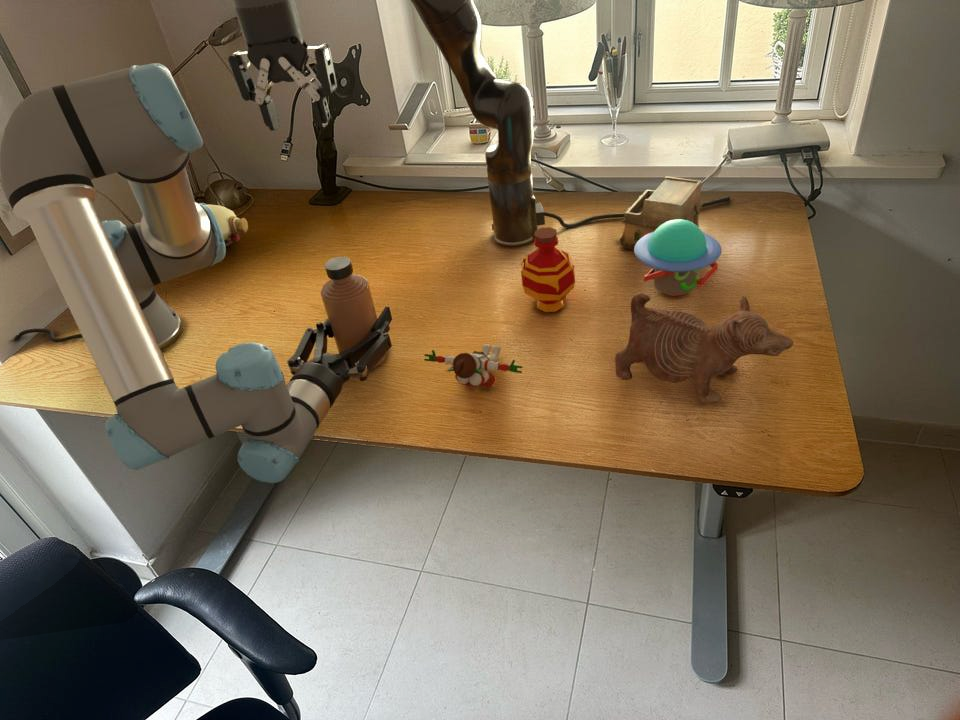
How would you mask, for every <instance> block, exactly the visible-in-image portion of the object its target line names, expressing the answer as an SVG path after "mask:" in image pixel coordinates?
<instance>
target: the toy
mask: <svg viewBox="0 0 960 720" xmlns="http://www.w3.org/2000/svg"><path fill="white" fill-rule="evenodd" d="M491 348H492V353H491V354H490V352H491ZM501 349H502V346H499V345H493V346H492V345H490V344H488V343H486V344H483V345H482V351H481V350H473V352H471V353H469V352H462V353H459V354H457V355H456V356H452V355H451V356H449V355H446V356H442V355H437V354H436V351H435V350H434V349H431V352H432V354H428V353H425V354H424V357H428V358H424V359H423V361H425V362H431V363H436V362H437V363H439V364H444V363H445V365H446V366H448V365H449V366H450V367H449V368H447V369H445V370H444V372H447V373H448V372H449V373H450V372H454V374H455V377H454V378H455V380H456V381H457V383H459V384H460V385H462V386H465V387H469V388H470V387H473V388H474V387H475V388H476V387H480V386H482V387H483V389H488V388H492V387H493V386H494V385H495V382H496V375H494V374H492V373H489V372H488V371H491V372H492V371H493V372H494V371H496V372H499V371H503V372H510V373H517V374H522V373H523V371H522V370H518V369H523V366H522V365H516V364H515V362H516V360H515V359H513V360H512V361H511V362H510V364H507V363H500V352H501Z"/></svg>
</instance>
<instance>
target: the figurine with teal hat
mask: <svg viewBox="0 0 960 720" xmlns="http://www.w3.org/2000/svg"><path fill="white" fill-rule="evenodd" d="M722 250H723V249H722V246H721V244H720V243H719V241H718V240H717V239H716V238H715V237H713V236H712V235H710V234H708V233H705V232H703V230H702V229H701V228H700V226H699V227H698V226H697V225H696V224H694V223H692V222H690V221H688V220H682V219H675V220H670V221H667V222H665V223H664V224H662V225H660V226H659V227H658V228H657V229H656V230H655V231H654V232H651V233H649V234H647V235H645V236H643V237H642V238H641V239H640V240H638V242H637V243H636V245H635V247H634V250H633V252H634V256H635V257H636V258H637V259H638V261H640V262H641V263H642V264H644V265H645V266H647V267H650V268H651V269H650V270H649V271H648V272H647V273H646V274H645V275H644V276H643V282H644V283H645V282H648V281H651V280H653V287H654V289H656V291H658V292H659V293H662V294H666V295H668V296H671V297H678V296H682V295H685V294H689V293H691V292H693V291H694V290H695V289H696V287H697V286H699V287H703V286H704V285H705V283H706V282H708V280H709V279H710V278H711V277H712V276H713V275H714V274H715V272H717V270H718V266H719V264H718V262H717V260H718V259H719V258H720V257H721V255H722ZM707 267H711V268H710V270H709V271H707V272H706V274H705V275H704V276H703V277H700V278H699V277H698V273H699V272H701V271H703V269H704V268H707Z"/></svg>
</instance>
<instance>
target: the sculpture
mask: <svg viewBox="0 0 960 720" xmlns="http://www.w3.org/2000/svg"><path fill="white" fill-rule="evenodd" d="M651 300H652V298H651V296H650V295H649V294H647V293H645V292H637V293H635V294H633V296H632V298H631V299H630V314H631V320H630V321H631V323H630V327H629V337H628V341H627V344H626V346H625V348H623V349H621V350H619V351H617V352H616V353H615V356H614V365H615V374H616V377H617V378H618V379H621V380H624V381H627V380H631V379H632V378H633V374H632V370H631V367H632V365H633V364H637V363H643V364H644V365H645V366H644V367H646V369H647V371H648V372H649V373H650V375H651V376H653V377H654V378H655V379H658V380H659V381H662V382H665V383H669V384H678V383H683V382H686V381H688V380H690V379H691V380H692V383H693V388H694V391H695V394H696V396H697V399H698V400H699V401H701V402H703V403H706V404H717V403H720V402H721V401H723V395H722V394H721V393H719V392H717V391H715V390H713V389H712V388H711V383H712V378H713V377H715V376H719V375H725V376H731V375H732V376H733V375H734V374H736V373H738V367H737V366H736V365H734V364H735V363H736V361H737V360H738V359H740V358H742V357H745V356H749V355H760V356H761V355H762V356H767V357H768V356H769V357H778V356H780V355H781V354H782V353H783V352H785V351H787V350H789V349H791V348H792V347H793V345H794V341H793V340H792V338H790V337H789V336H788V335H785V334H784V333H781V332H779V331H776V330H774V329H773V328H771V326H769V324H768V322H767V321H766V319H765V318H764V317H762V316H761V315H760V314H758V313H757V312H755V311H751V307H750V303H749V300H748V299H747V296H745V295H743V296H740V301H739V302H740V303H739V309H738V311H737V312H735V313H732V314H730V315H729V316H728V317H726V318H725V319H723V320H722V321H720V322H719V323H718V324H716V325H714V326H709V325H708V324H707V323H706V322H705V321H704V320H703V319H702V318H700V317H698V316H697V315H695V314H692V313H690V312H689V311H688V312H687V311H684V310H668V309H663V308H656V307H646V306H645V305H646V303H648V302H649V301H651Z"/></svg>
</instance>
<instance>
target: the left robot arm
mask: <svg viewBox="0 0 960 720" xmlns="http://www.w3.org/2000/svg"><path fill="white" fill-rule="evenodd" d="M203 145H204V140H203V138H202V135H201V133H200V131H199V129H198V126H197V125H196V122H195V120H194V119H193V116H192V113H190V110H189V108H188V106H187V104H186V102H185V100H184V98H183V96H182V94H181V92H180V89H179V87H178V86H177V83H176V81H175V79H174V77H173V75H172V73H171V72H170V70H169V69H168V68H167V67H166V66H165V65H164V64H161V63H158V62H157V63H156V62H154V63H148V64H142V65H137V64H133V65H130V66H129V67H127V68H123V69H118V70H114V71H111V72H107V73H103V74H99V75H95V76H91V77H88V78H83V79H80V80H75V81H72V82H67V83H64V84H60V85H56V86H48V87H44V88H41V89H38V90H37V91H34V92H33V93H31V94H29V95H28V96H26V97H25V98H24V99H23V100H22V101H20V102H19V104H18V105H17V106H16V108H14V110H13V111H12V113H11V114H10V117H9V119H8V121H7V123H6V125H5V127H4V131H3V135H2V139H1V144H0V179H1V185H2V187H3V191H4V194H5V197H6V199H7V201H8V203H9V205H10V207H11V208H12V211H13V214H14V215H15V217H16V218H18V219H20V220H23V221H25V222H27V223H28V224H29V226H30V228H31V230H32V232H33V234H34V237H35V239H36V241H37V243H38V245H39V247H40V250H41V251H42V254H43V256H44V258H45V260H46V262H47V264H48V266H49V268H50V271H51V274H52V276H53V277H54V279H55V281H56V284H57V286H58V287H59V290H60V292H61V294H62V296H63V298H64V300H65V303H66V305H67V307H68V309H69V311H70V313H71V315H72V317H73V319H74V322H75V324H76V326H77V328H78V331H79V332H80V333H77V334H72V335H68V336H64V337H59V338H56V337H55V333H54V331H53V330H52V329H50V328H29V329H25V330H22V331H20V332H19V333H18V334H19V335H17V334H16V335H15V337H14V341H18V340H20V339H21V338H22V337H23V336H25V335H28V334H33V333H43V334H49V339H50V341H51V342H53V343H64V342H68V341H71V340H76V339H83V341H84V343H85V346H86V347H87V349H88V351H89V354H90V356H91V358H92V360H93V362H94V364H95V366H96V368H97V371H98V373H99V375H100V377H101V379H102V381H103V384H104V385H105V387H106V390H107V392H108V394H109V396H110V398H111V400H112V402H113V404H114V407H115V408H116V409H115V410H116V413H115V414H114V415H113V416H110V417H108V418H107V419H106V420H105V422H104V428H105V433H106V435H107V436H108V440H109V443H110V445H111V447H112V449H113V451H114V453H115V455H116V456H117V458H118V459H119V461H120V462H121V464H122V465H123V466H124V467H126V468H127V469H130V470H134V471H137V470H140V469H144V468H145V467H148V466H150V465H153V464H156V463H159V462H161V461H165V460H169V459H170V457H172V456H175V455H176V454H179V453H181V452H183V451H185V450H188V449H190V448H192V447H195V446H197V445H199V444H201V443H203V442H206V441H208V440H209V439H213V438H216V437H218V436H220V435H222V434H225V433H227V432H230V431H231V430H234V429H236V428H239V427H241V428H242V430H243V432H244V435H245V437H246V438H245V440H244V441H243V442H242V443H241V447H240V448H239V449H238V452H237V463H238V465H239V467H240V468H241V470H242V471H244V473H245V474H246V475H248V476H249V477H250V478H252V479H254V480H256V481H258V482H262V483H267V484H268V483H269V484H276V483H280V482H282V481H284V480H285V479H286V478H287V477H288V475H289V474H290V472H291V471H292V470H293V469H294V467H295V466H296V465H297V464H298V463H299V460H300V458H301V457H302V455H303V453H304V452H305V450H306V448H307V447H308V445H309V444H310V442H311V440H312V438H313V437H314V435H315V434H316V432H317V430H318V429H319V428H320V425H321V424H322V423H323V421H324V420H325V417H326V416H327V415H328V412H329V411H330V409H331V408H332V407H333V406H334V404H335V402H336V401H337V399H338V397H339V396H340V394H341V391H342V389H343V385H344V384H345V383H346V382H348V381H349V380H350V379H351V378H359V381H360V382H365V381H367V380H368V377H369V375H370V372H371V371H372V370H373V369H374V368H373V367H374V366H375V365H376V364H377V363H378V362H379V361H380V359H381V358H382V357H383V356H384V355H385V354H386V355H387V353H388V352H389V350H390V349H391V348H392V347H393V344H392V341H391V336H390V333H389V332H390V330H391V327H390V324H391V323H392V321H393V316H392V312H391V308H390V306H384V308H383V310H382V311H381V313H380V314H379V316H377V320H376V322H375V323H374V325H373V327H372V328H371V329H372V333H371V334H370V335H368V336H367V337H365V338H364V339H363V340H361V341H360V342H358V343H357V344H356V345H354V346H353V347H352V348H350V349H349V350H347V349H345V350H343V351H342V352H340V353H339V352H338V353H330V352H328V338H329V339H333V338H334V336H333V332H332V329H331V326H330V323H329V319H328V317H327V318H326V319H324V322H321V321H319V322H317V323H315V327H316V328H313V327H307V328H306V329H305V331H304V333H303V335H302V338H301V339H300V341H299V343H298V345H297V348H296V349H295V352H294V353H293V355H292V356H290V358H289V359H288V360H287V361H286V363H287V366H288V369H289V371H290V374H291V375H292V377H291V378H290V379H289V381H288V382H286V380H285V375H284V373H283V371H282V369H281V367H280V365H279V363H278V360H277V358H276V356H275V354H274V352H273V350H272V349H271V348H270V347H268V346H267V345H265V344H263V343H260V342H253V341H251V342H242V343H238V344H236V345H234V346H231V347H229V349H228V351H227V352H223V353H221V354H220V355H219V356H218V358H217V360H216V363H215V371H216V372H215V374H213V375H210V376H209V377H206V378H204V379H203V378H202V379H201V380H198V381H196V382H193V383H191V384H188V385H186V386H183V387H181V388H179V387H178V385H177V384H176V381H175V378H174V376H173V374H172V371H171V370H170V368H169V365H168V363H167V361H166V359H165V357H164V354H163V351H165V350H166V349H167V348H169V347H170V346H172V345H173V344H174V343H175V342H176V341H177V340H178V339H179V337H180V336H181V335H182V332H183V329H184V325H183V322H182V320H181V319H180V316H179V314H178V313H177V312H176V311H175V310H173V308H172V307H170V305H169V304H168V303H166V301H165V300H164V299H162V298H161V297H160V295H158V293H157V291H156V289H155V287H154V286H157V285H159V284H162V283H165V282H169V281H172V280H174V279H177V278H179V277H183V276H185V275H186V276H187V275H188V274H191V273H194V272H197V271H200V270H203V269H208V268H211V267H212V266H214V265H215V264H219V263H221V262H222V261H223V260H224V259H225V257H226V254H227V248H226V247H225V244H226V242H225V240H223V235H222V231H221V228H220V226H219V223H218V221H217V219H216V217H215V215H214V213H213V211H212V210H211V208H210V207H209V206H208V205H209V204H207V203H204V202H199V203H198V202H196V200H195V197H194V193H193V190H192V186H191V181H190V179H189V175H188V171H187V168H186V167H187V165H188V163H189V161H190V158H191V153H193V152H196V150H198V149H200V148H202V147H203ZM113 174H116V175H118V176H119V177H120V178H123V179H125V180H126V181H127V183H128V185H129V187H130V189H131V192H132V194H133V196H134V199H135V200H136V203H137V204H138V207H139V209H140V211H141V214H142V216H141V220H140V222H137V223H133V224H130V225H127V226H126V225H125V223H123V222H122V221H120V220H117V219H110V220H103V221H101V219H100V217H99V214H98V212H97V210H96V208H95V206H94V203H95V201H96V200H97V197H98V192H97V190H96V188H95V186H94V184H93V182H92V180H94V179H98V178H102V177H105V176H110V175H113ZM314 347H315V348H314ZM313 349H314V353H313V357H312V359H310V360H309V358H310V356H311V354H312V351H313ZM372 368H373V369H372Z"/></svg>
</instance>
